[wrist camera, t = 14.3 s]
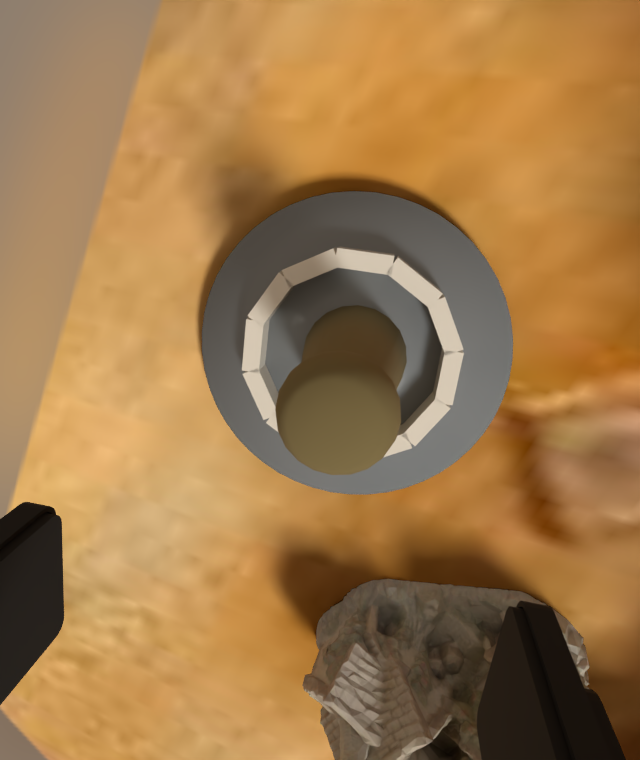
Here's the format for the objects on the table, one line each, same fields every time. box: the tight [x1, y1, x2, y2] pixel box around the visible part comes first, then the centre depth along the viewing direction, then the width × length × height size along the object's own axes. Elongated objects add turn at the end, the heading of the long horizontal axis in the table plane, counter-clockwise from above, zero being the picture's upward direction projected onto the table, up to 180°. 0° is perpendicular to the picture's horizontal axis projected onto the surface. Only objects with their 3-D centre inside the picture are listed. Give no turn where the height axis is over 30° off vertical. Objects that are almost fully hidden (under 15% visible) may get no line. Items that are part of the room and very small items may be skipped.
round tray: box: [202, 191, 513, 494], centre depth 31 cm, size 18×18×2 cm
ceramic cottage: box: [303, 579, 590, 760], centre depth 31 cm, size 16×16×15 cm
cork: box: [275, 305, 407, 475], centre depth 26 cm, size 6×6×11 cm
